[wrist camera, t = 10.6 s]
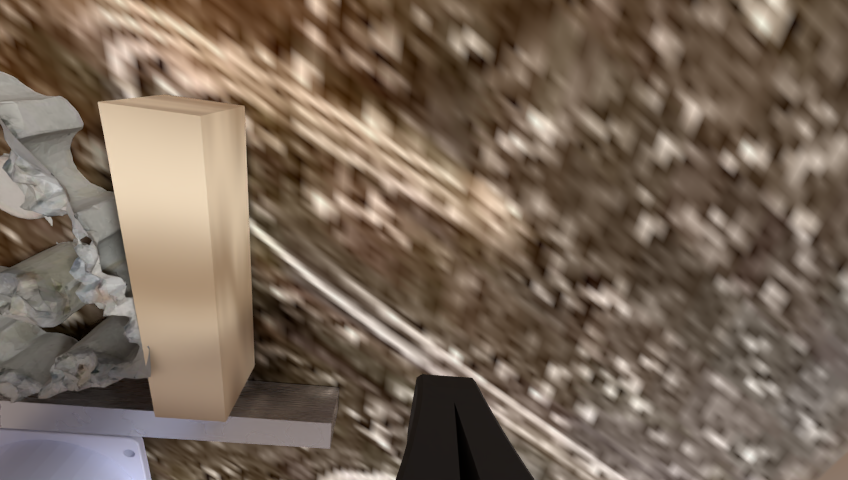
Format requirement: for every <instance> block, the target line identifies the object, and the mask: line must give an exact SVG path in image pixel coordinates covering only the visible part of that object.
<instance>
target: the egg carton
mask: <svg viewBox="0 0 848 480" xmlns="http://www.w3.org/2000/svg"><path fill="white" fill-rule="evenodd" d="M0 124H1V126H2V128H3V131H4V138H5V140H6V142H7V143H8V145H9V146H10V148H11V149H12V150H11V152H10V154H5V153H4V154H3V155H2V156H0V209H2V210H3V211H5V212H7V213H9V214H11V215H13V216H16V217H19V218H25V219H38V218H42V217H45V218H46V219H47V221H48V222H49V223H50V224H51V226H53V225H52V219H51V217H52V216H58V215H60V216H64V214H68V215H69V217H70V219H71V221H72V226H73V230H72V232H73V234H74V235H75V236H76V238H77V239H78V240H77V239H74V240H73V242H62V243H57V245H56V246H53V247H51V248H49V249H47V250H44V251H42V252H40V253H38V254H36V255H34V256H32V257H30V258H28V259H26V260H24V261H22V262H20V263H18V264H16V265H14V266H12V267H10V268H8V267H3V266H0V392H1V393H2V395H3V396H5V397H9V398H11V403H15V402H18V401H21V400H22V399H24V398H26V397H28V396H30V395H32V394H34V393H38V392H39V395H38V398H39V399H47V398H50V397H52V396H54V395H56V394H59V393H61V392H63V391H67V390H70V391H74V390H75V391H77V392H78V391H81V390H84V389H87V388H90V387H102V388H105V387H107V386H108V385H110V384H112V383H115V382H117V381H119V380H121V379H123V378H132V379H141V378H148V377H151V362H150V348H149V346H147V347H148V349H149V354H148V360H147V364H146V365H145V359H144V354H143V348H142V343H141V337H140V332H139V326H138V321H137V315H136V310H135V304H134V299H133V293H132V287H131V282H130V276H129V271H128V265H127V260H126V254H125V249H124V243H123V238H122V232H121V227H120V221H119V216H118V210H117V205H116V199H115V194H114V192H111V191H106V190H105V189H103V188H102V187H98V186H96V185H94V184H92V183H90V182H89V181H88V180H87V179H86V178H85V177H84V176H83V175H82V174H81V173H80V172H79V171H78V170H77V168H76V166H75V164H74V163H73V158H72V154H71V151H70V146H71V142H72V138H73V137H74V136H75V134H76V133H77V132H78V131H80V130H81V129H83V124H84V123H83V121H82V119H81V117H80V115H79V113H78V112H77V110H76V109H75V108H74V107H73V106H72V105H71V104H70V103H69V102H68V101H67V100H66V99H65V98H63V97H61V96H45V95H42V94H39V93H37V92H35V91H33V90H32V89H30V88H29V87H27V86H25V85H24V84H23V83H21V82H20V81H19V80H17V79H16V78H15V77H13V76H11V75H9V74H6V73H4V72H1V71H0ZM85 236H87V237H89V238H90V239H91V240H92V241H91V243H90V245H88V244H87V243H83V242H81V241H80V239H82V238H84V237H85ZM93 303H94V304H95V305H96V306H97V307H98V308H99V309H104V312H103V316H109V317H107V318H106V319H105V320H103V321H102V322H101V323H100V324H98V325H97V326H96V327H95V328H94V329H93V330H92V331H91V332H89V333H88V334H87V335H86V336H85V337H84V338H82V339H81V340H80V341H77V340H76V339H75V338H73V337H70V336H67V335H64V334H61V333H50V332H45V331H44V330H42V329H41V328H40V327H55V326H57V325H59V324H61V323H63V322H64V321H65V320H66V319H67V318H68V317H69V316H71V315H72V314H73V313H74V312H76V311H77V310H79V309H80V308H82V307H83V306H84V305H85V304H93ZM110 315H111V316H110ZM38 326H39V327H38Z"/></svg>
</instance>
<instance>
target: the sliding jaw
mask: <svg viewBox="0 0 848 480" xmlns="http://www.w3.org/2000/svg"><path fill="white" fill-rule="evenodd" d="M98 106H99V111H100V117H101V122H102V128H103V133H104V139H105V144H106V150H107V155H108V161H109V166H110V172H111V177H112V183H113V188H114V194H115V199H116V205H117V210H118V216H119V221H120V227H121V232H122V238H123V243H124V249H125V254H126V260H127V265H128V271H129V276H130V282H131V287H132V293H133V299H134V304H135V310H136V315H137V321H138V326H139V332H140V337H141V343H142V348H143V354H144V359H145V365H146V364H147V360H148V354H149V349H148V347H147V346H149V348H150V362H151V377H148V381H149V387H150V392H151V398H152V403H153V409H154V414H155V417H162V418H176V419H191V420H206V421H221V422H226V421H227V419H228V417H229V415H230V413H231V411H232V409H233V407H234V405H235V403H236V401H237V399H238V397H239V395H240V393H241V391H242V389H243V387H244V386H245V384H246V382H247V380H248V378H249V376H250V374H251V372H252V370H253V368H254V366H255V358H254V333H253V307H252V282H251V256H250V231H249V205H248V180H247V155H246V129H245V106H242V105H235V104H228V103H221V102H214V101H207V100H200V99H193V98H186V97H179V96H172V95H157V96H148V97H138V98H129V99H120V100H111V101H102V102H98Z"/></svg>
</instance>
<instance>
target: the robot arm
mask: <svg viewBox="0 0 848 480" xmlns="http://www.w3.org/2000/svg"><path fill="white" fill-rule="evenodd" d="M0 480H151V475H150V470H149V465H148V460H147V456H146V451H145V446H144V441H143V438H142V437H139V436H123V435H107V434H91V433H75V432H59V431H44V430H28V429H12V428H0ZM396 480H534V478H533V477H532V475H531V474H530V472H529V471H528V469H527V468H526V466H525V465H524V463H523V462H522V460H521V458H520V457H519V455H518V454H517V452H516V451H515V449H514V448H513V446H512V444H511V443H510V441H509V440H508V438H507V436H506V435H505V433H504V432H503V430H502V428H501V427H500V425H499V423H498V421H497V420H496V418H495V416H494V415H493V413H492V411H491V409H490V408H489V406H488V404H487V402H486V400H485V399H484V397H483V395H482V393H481V391H480V389H479V388H478V386H477V384H476V382H475V381H474V380H473V378H465V377H452V376H438V375H425V374H422V375H420V376H419V377H417V379H416V385H415V391H414V397H413V403H412V409H411V415H410V421H409V427H408V437H407V445H406V449H405V453H404V456H403V460H402V463H401V466H400V469H399V472H398V474H397V477H396Z"/></svg>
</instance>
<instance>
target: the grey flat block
mask: <svg viewBox="0 0 848 480" xmlns="http://www.w3.org/2000/svg"><path fill="white" fill-rule="evenodd" d="M38 395H39V392H38V393H34V394H32V395H30V396H28V397H26V398H24V399H22V400H21V401H18V402H15V403H11V398H9V397H5V396H3V395H2V393H1V392H0V428H12V429H28V430H44V431H59V432H75V433H91V434H107V435H123V436H139V437H154V438H170V439H186V440H202V441H218V442H233V443H249V444H265V445H281V446H297V447H313V448H328V449H330V446H331V441H332V436H333V431H334V426H335V421H336V416H337V411H338V398H339V387H326V386H313V385H300V384H287V383H275V382H262V381H249V380H247V382H246V384H245V386H244V387H243V389H242V391H241V393H240V395H239V397H238V399H237V401H236V403H235V405H234V407H233V409H232V411H231V413H230V415H229V417H228V419H227V421H226V422H221V421H206V420H191V419H176V418H162V417H155V414H154V409H153V403H152V398H151V392H150V387H149V381H148V378H141V379H132V378H123V379H121V380H119V381H117V382H115V383H112V384H110V385H108V386H107V387H105V388H102V387H90V388H87V389H84V390H81V391H78V392H77V391H75V390H74V391H70V390H67V391H63V392H61V393H59V394H56V395H54V396H52V397H50V398H47V399H39V398H38Z"/></svg>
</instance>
